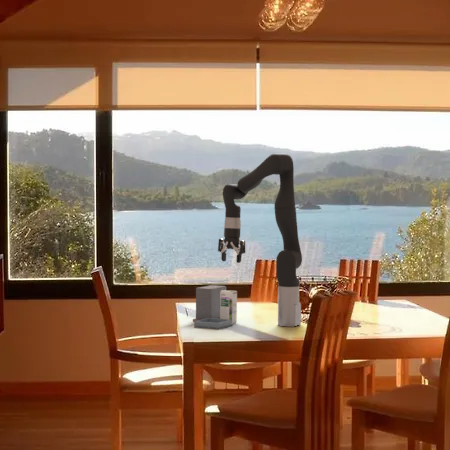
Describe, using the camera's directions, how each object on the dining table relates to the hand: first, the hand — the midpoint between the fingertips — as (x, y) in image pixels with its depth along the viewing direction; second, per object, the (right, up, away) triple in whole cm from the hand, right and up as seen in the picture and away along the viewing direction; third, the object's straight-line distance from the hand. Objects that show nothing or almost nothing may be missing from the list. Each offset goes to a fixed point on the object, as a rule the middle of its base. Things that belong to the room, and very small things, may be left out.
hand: (231, 261), depth 385 cm
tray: (-8, -27, -28) cm, 39 cm away
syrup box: (-1, -27, -17) cm, 32 cm away
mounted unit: (-9, -26, -9) cm, 29 cm away
